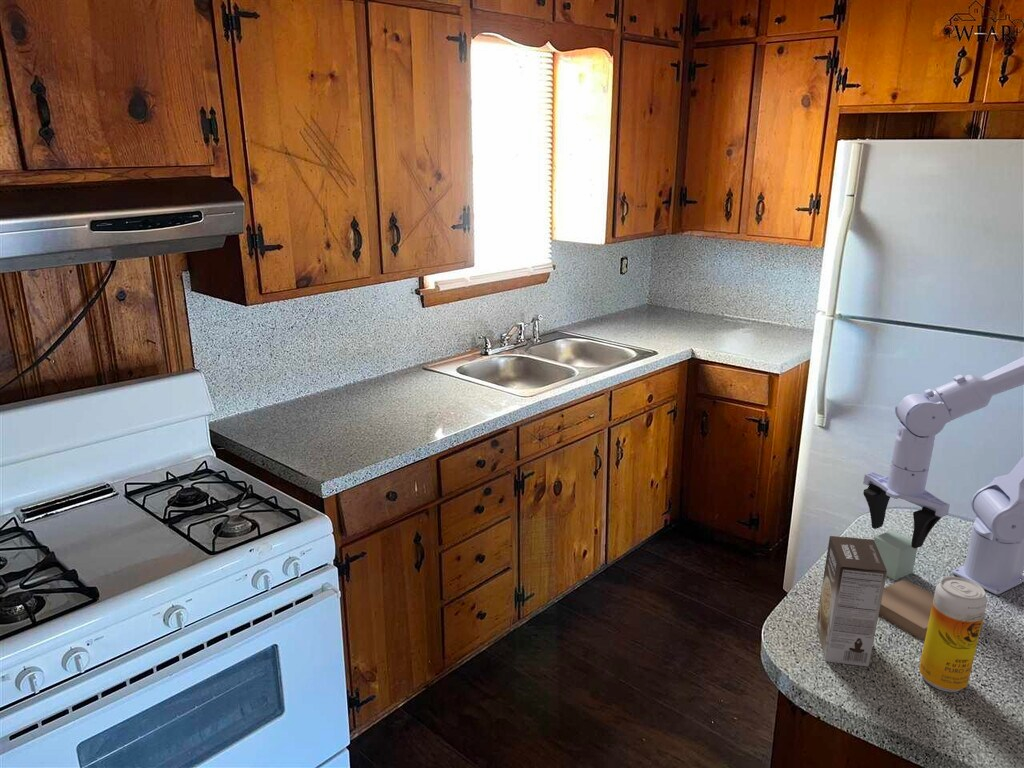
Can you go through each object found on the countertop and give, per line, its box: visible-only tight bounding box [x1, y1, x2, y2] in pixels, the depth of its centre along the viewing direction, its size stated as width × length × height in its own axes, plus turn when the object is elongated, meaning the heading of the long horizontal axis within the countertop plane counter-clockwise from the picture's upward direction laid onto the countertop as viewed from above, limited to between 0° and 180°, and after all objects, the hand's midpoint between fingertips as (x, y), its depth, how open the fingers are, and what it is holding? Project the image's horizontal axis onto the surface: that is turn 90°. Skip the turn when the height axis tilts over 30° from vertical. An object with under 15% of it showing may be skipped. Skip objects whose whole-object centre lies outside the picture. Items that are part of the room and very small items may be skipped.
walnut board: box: [879, 578, 935, 641], centre depth 123 cm, size 10×10×2 cm
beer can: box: [918, 576, 988, 693], centre depth 106 cm, size 6×6×15 cm
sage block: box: [873, 529, 918, 581], centre depth 135 cm, size 5×5×6 cm
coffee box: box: [815, 535, 887, 667], centre depth 113 cm, size 9×6×16 cm
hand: (896, 536), depth 134 cm, fingers open, 7 cm apart
